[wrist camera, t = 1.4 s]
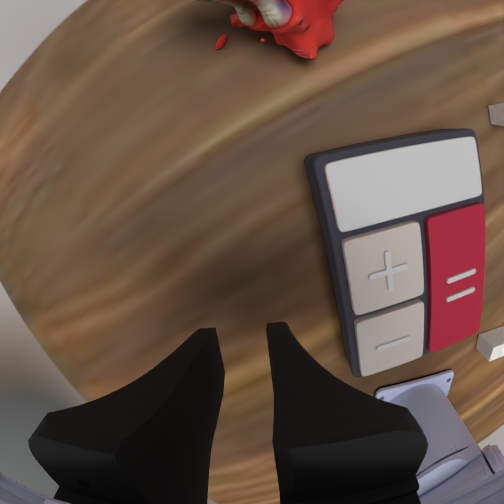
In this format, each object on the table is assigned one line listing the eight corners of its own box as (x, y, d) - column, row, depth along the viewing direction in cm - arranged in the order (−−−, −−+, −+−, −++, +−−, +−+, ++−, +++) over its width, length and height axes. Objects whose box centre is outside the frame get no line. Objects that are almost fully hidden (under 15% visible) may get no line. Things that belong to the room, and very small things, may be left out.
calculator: (355, 386, 18) (314, 157, 14) (342, 350, 23) (301, 155, 18) (484, 336, 17) (482, 127, 13) (458, 310, 21) (446, 128, 17)
